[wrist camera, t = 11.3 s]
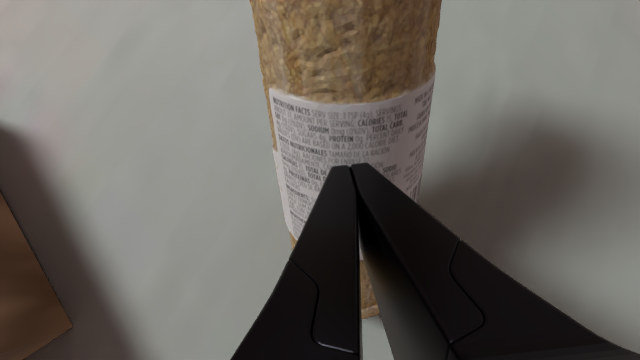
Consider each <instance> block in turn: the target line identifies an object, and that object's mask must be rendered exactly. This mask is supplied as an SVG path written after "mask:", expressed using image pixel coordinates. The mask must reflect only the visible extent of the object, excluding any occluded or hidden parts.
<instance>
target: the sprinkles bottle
mask: <svg viewBox="0 0 640 360" xmlns="http://www.w3.org/2000/svg"><path fill="white" fill-rule="evenodd" d="M441 1H442V0H250V3H251V6H252V11H253V18H254V23H255V32H256V35H257V39H258V48H259V57H260V68H261V72H262V74H263V85H264V91H265V95H266V99H267V107H268V113H269V119H270V125H271V130H272V139H273V154H274V159H275V165H276V170H277V176H278V182H279V187H280V192H281V198H282V204H283V210H284V216H285V220H286V224H287V227H288V229H289V231H290V237H291V243H292V249H294V247H295V244H296V242H297V240H298V238H299V236H300V234H301V231H302V229H303V227H304V225H305V223H306V221H307V218H308V216H309V214H310V212H311V210H312V208H313V205H314V203H315V201H316V199H317V197H318V195H319V192H320V190H321V188H322V186H323V184H324V182H325V179H326V177H327V175H328V173H329V171H330V169H331V167H333V166H340V165H348V166H349V169H350V166H351V165H352V164H357V163H365V162H366V163H369V164H370V165H371V166H372V167H374V168H375V169H376V170H377V171H379V172H380V173H381V174H382V175H383V176H385V177H386V178H387V179H388V180H389V181H391V182H392V183H393V184H394V185H396V186H397V187H398V188H399V189H400V190H402V191H403V192H404V193H405V194H407V195H408V196H409V197H410V198H411V199H413V200H414V201H415V202H416V203H417V204H418V198H419V191H420V183H421V175H422V168H423V160H424V152H425V144H426V137H427V129H428V122H429V115H430V108H431V100H432V93H433V87H434V80H435V69H436V67H435V63H434V55H435V51H436V38H437V31H438V28H439V21H440V9H441ZM359 251H360V279H361V313H362V319H367V318H369V317H372V316H375V315H378V314H380V312H379V309H378V305H377V302H376V299H375V296H374V292H373V289H372V286H371V283H370V279H369V276H368V273H367V270H366V266H365V263H364V260H363V256H362V252H361V247H360V242H359Z"/></svg>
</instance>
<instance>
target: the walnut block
mask: <svg viewBox="0 0 640 360" xmlns="http://www.w3.org/2000/svg"><path fill="white" fill-rule="evenodd" d="M72 327H73V326H72V324H71V322H70V320H69V318H68V316H67V315H66V313H65V311H64V309H63V307H62V305H61V303H60V302H59V300H58V298H57V296H56V294H55V292H54V290H53V289H52V287H51V285H50V283H49V281H48V279H47V278H46V276H45V274H44V272H43V270H42V268H41V266H40V265H39V263H38V261H37V259H36V257H35V255H34V254H33V252H32V250H31V248H30V246H29V244H28V242H27V241H26V239H25V237H24V235H23V233H22V231H21V230H20V228H19V226H18V224H17V222H16V220H15V218H14V217H13V215H12V213H11V211H10V209H9V207H8V205H7V204H6V202H5V200H4V198H3V196H2V194H1V193H0V360H23V359H25V358H26V357H28V356H29V355H31V354H32V353H34V352H36V351H37V350H39V349H40V348H42V347H43V346H45V345H46V344H48V343H49V342H51V341H52V340H54V339H55V338H57V337H58V336H60V335H61V334H63V333H64V332H66V331H68V330H69V329H71V328H72Z"/></svg>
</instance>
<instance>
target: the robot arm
mask: <svg viewBox="0 0 640 360" xmlns="http://www.w3.org/2000/svg"><path fill="white" fill-rule="evenodd" d="M359 242H360V247H361V252H362V256H363V260H364V263H365V266H366V270H367V273H368V276H369V279H370V283H371V286H372V289H373V292H374V296H375V299H376V302H377V305H378V309H379V312H380V315H381V318H382V322H383V325H384V328H385V331H386V334H387V338H388V341H389V344H390V347H391V351H392V354H393V357H394V360H640V354H638V353H635V352H632V351H629V350H627V349H624V348H622V347H620V346H618V345H616V344H613V343H611V342H609V341H608V340H606V339H604V338H602V337H600V336H598V335H597V334H595V333H593V332H592V331H590V330H589V329H587V328H585V327H584V326H582V325H581V324H579V323H578V322H577V321H575V320H574V319H572V318H571V317H569V316H568V315H566V314H565V313H563V312H562V311H560V310H559V309H557V308H556V307H554V306H553V305H551V304H550V303H548V302H547V301H545V300H544V299H542V298H541V297H539V296H538V295H536V294H535V293H533V292H532V291H530V290H529V289H527V288H526V287H524V286H523V285H521V284H520V283H518V282H517V281H516V280H514V279H513V278H511V277H510V276H508V275H507V274H506V273H504V272H503V271H501V270H500V269H498V268H497V267H496V266H494V265H493V264H492V263H490V262H489V261H488V260H487V259H485V258H484V257H483V256H481V255H480V254H479V253H478V252H476V251H475V250H474V249H473V248H471V247H470V246H469V245H468V244H466V243H465V242H464V241H463V240H460V238H459V237H458V236H456V235H455V234H454V233H453V232H452V231H450V230H449V229H448V228H447V227H446V226H444V225H443V224H442V223H441V222H439V221H438V220H437V219H436V218H435V217H433V216H432V215H431V214H430V213H428V212H427V211H426V210H425V209H424V208H422V207H421V206H420V205H419V204H417V203H416V202H415V201H414V200H413V199H411V198H410V197H409V196H408V195H407V194H405V193H404V192H403V191H402V190H400V189H399V188H398V187H397V186H396V185H394V184H393V183H392V182H391V181H389V180H388V179H387V178H386V177H385V176H383V175H382V174H381V173H380V172H379V171H377V170H376V169H375V168H374V167H372V166H371V165H370V164H369V163H366V162H365V163H357V164H352V165H351V166H350V169H349V166H348V165H340V166H333V167H331V169H330V171H329V173H328V175H327V177H326V179H325V182H324V184H323V186H322V188H321V190H320V192H319V195H318V197H317V199H316V201H315V203H314V205H313V208H312V210H311V212H310V214H309V216H308V218H307V221H306V223H305V225H304V227H303V229H302V231H301V234H300V236H299V238H298V240H297V242H296V244H295V247H294V249H293V251H292V253H291V255H290V257H289V261H288V262H287V263H286V266H285V268H284V270H283V272H282V274H281V276H280V278H279V280H278V282H277V284H276V286H275V288H274V290H273V292H272V294H271V296H270V297H269V299H268V301H267V302H266V304H265V306H264V307H263V309H262V311H261V312H260V314H259V316H258V317H257V319H256V320H255V322H254V323H253V325H252V327H251V328H250V330H249V331H248V333H247V334H246V336H245V338H244V339H243V341H242V342H241V344H240V345H239V347H238V348H237V350H236V352H235V353H234V355H233V356H232V358H231V359H230V360H363V347H362V313H361V279H360V251H359Z"/></svg>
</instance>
